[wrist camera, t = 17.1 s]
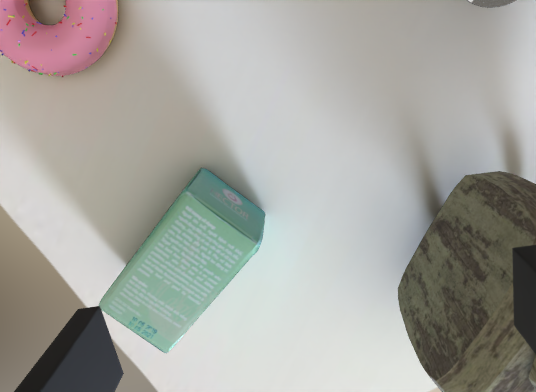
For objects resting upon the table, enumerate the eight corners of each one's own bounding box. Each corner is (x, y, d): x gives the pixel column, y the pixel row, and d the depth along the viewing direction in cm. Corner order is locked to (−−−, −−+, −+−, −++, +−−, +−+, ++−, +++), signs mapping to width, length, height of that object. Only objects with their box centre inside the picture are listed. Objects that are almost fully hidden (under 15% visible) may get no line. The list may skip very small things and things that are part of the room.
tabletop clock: (461, 309, 45) (647, 618, 21) (376, 275, 44) (472, 556, 20) (549, 178, 40) (913, 388, 16) (455, 137, 39) (698, 295, 16)
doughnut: (151, 36, 38) (135, 37, 34) (42, 96, 40) (15, 103, 36) (77, -102, 35) (49, -120, 31) (-37, -30, 37) (-76, -37, 33)
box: (269, 209, 42) (264, 245, 35) (187, 308, 46) (167, 357, 39) (204, 161, 41) (184, 187, 34) (125, 266, 45) (93, 309, 38)
